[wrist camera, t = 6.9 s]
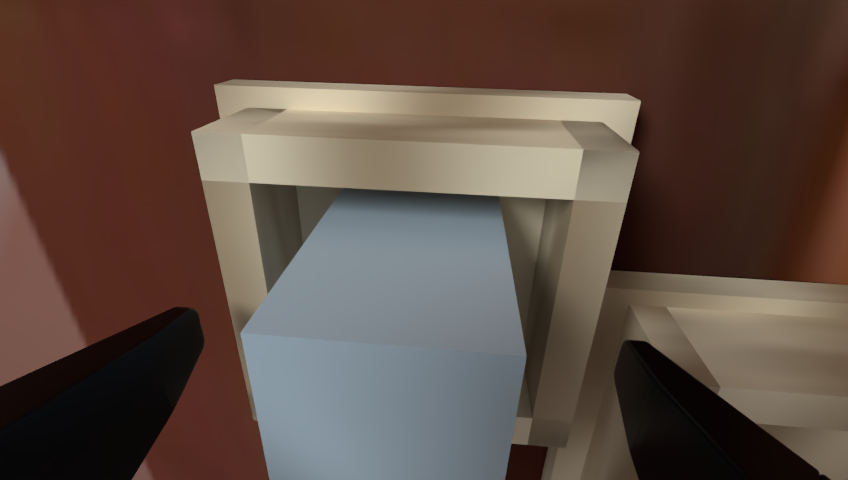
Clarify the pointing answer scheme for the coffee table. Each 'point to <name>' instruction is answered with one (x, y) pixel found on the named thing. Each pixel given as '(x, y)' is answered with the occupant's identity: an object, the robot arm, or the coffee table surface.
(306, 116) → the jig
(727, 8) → the coffee table surface
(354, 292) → the block
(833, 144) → the coffee table surface
